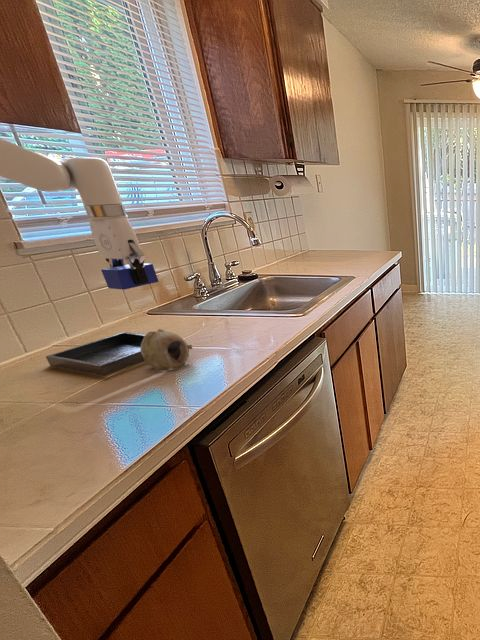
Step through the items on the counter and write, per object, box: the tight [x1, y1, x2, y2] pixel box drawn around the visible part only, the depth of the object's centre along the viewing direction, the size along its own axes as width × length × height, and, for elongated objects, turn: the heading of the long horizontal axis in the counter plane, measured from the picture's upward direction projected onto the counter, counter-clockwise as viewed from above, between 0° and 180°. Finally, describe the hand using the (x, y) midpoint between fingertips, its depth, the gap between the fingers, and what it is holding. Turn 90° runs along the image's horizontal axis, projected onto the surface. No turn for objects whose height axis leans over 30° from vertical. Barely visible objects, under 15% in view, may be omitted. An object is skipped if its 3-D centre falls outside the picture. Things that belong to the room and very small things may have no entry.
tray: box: [45, 331, 146, 377], centre depth 101 cm, size 20×18×3 cm
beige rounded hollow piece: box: [141, 328, 194, 371], centre depth 96 cm, size 9×8×10 cm
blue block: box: [100, 262, 159, 291], centre depth 107 cm, size 6×9×5 cm, turn 162°
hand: (133, 282), depth 108 cm, fingers closed on blue block, 6 cm apart
